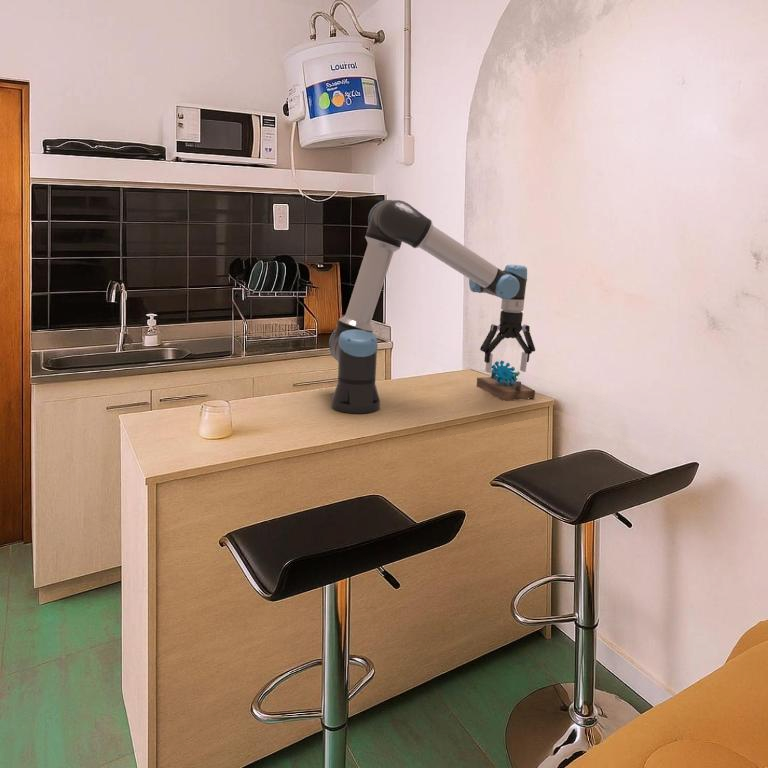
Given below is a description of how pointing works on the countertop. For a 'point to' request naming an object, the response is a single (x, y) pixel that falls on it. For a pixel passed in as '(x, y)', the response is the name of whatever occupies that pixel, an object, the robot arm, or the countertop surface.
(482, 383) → the stand
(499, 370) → the blue spiky virus toy
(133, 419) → the countertop surface
